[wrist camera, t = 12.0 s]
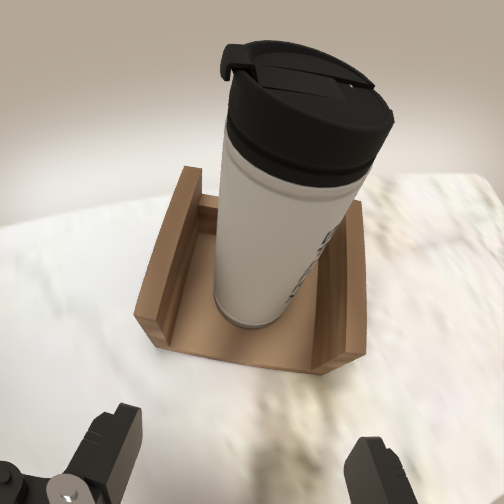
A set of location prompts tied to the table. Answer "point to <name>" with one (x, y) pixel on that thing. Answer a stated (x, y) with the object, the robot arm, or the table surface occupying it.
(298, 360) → the cradle
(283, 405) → the table surface
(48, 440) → the table surface
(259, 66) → the travel mug
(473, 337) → the table surface
